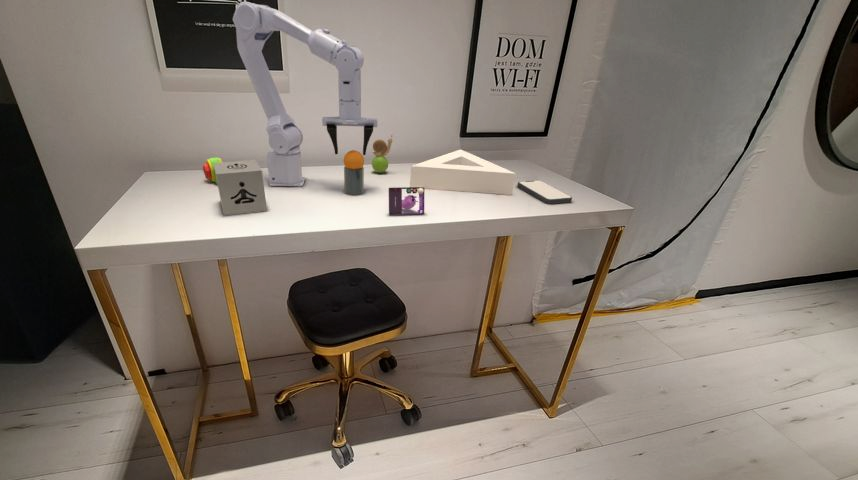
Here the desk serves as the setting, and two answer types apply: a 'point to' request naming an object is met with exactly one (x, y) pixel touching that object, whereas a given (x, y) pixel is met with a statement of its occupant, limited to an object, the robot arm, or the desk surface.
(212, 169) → the red green curved piece
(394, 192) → the purple product box
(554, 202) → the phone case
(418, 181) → the triangle block
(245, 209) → the icon cube
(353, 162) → the ball
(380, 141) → the snail figurine
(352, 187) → the cup
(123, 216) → the desk surface
